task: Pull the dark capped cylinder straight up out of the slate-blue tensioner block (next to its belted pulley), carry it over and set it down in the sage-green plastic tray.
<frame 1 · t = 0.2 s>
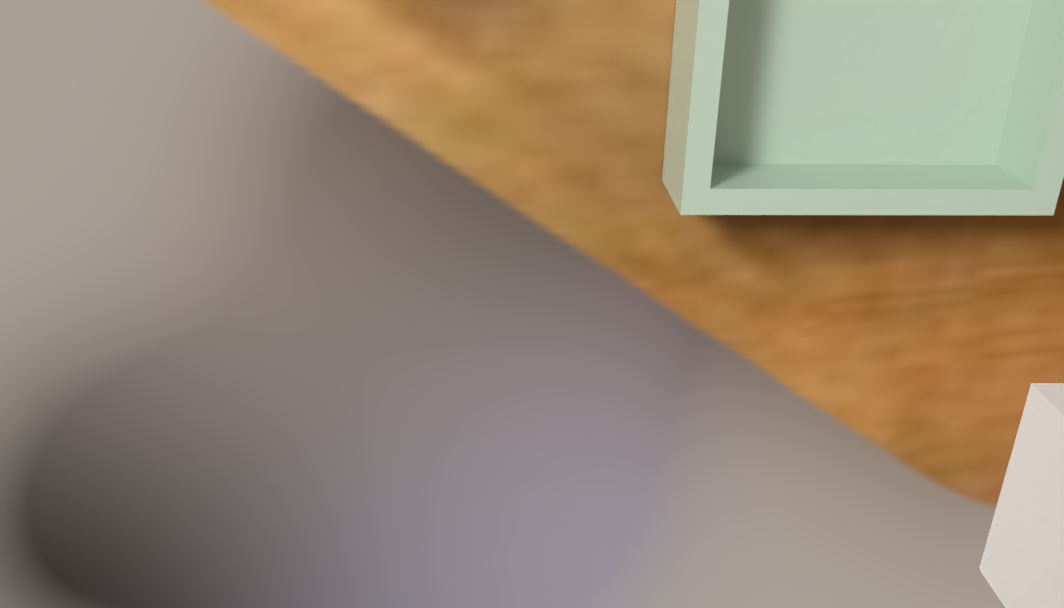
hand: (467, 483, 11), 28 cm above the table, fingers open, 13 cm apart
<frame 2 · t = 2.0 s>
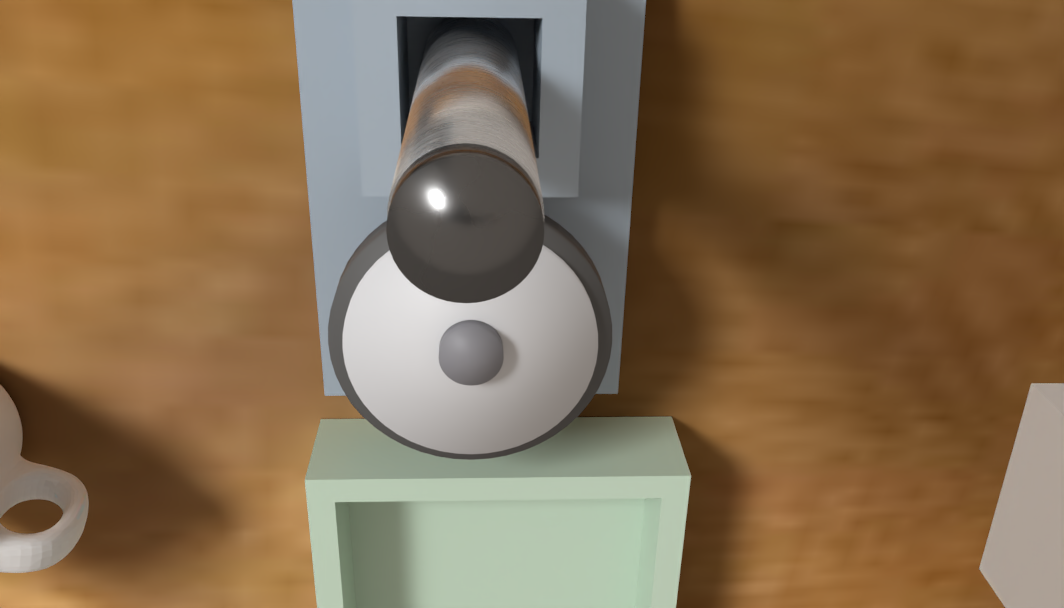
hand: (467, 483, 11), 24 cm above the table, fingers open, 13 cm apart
dark capped cylinder: (471, 59, 31), point 1 cm above the table, touching tensioner block
tray: (496, 573, 42), on the table
tensioner block: (471, 178, 35), on the table
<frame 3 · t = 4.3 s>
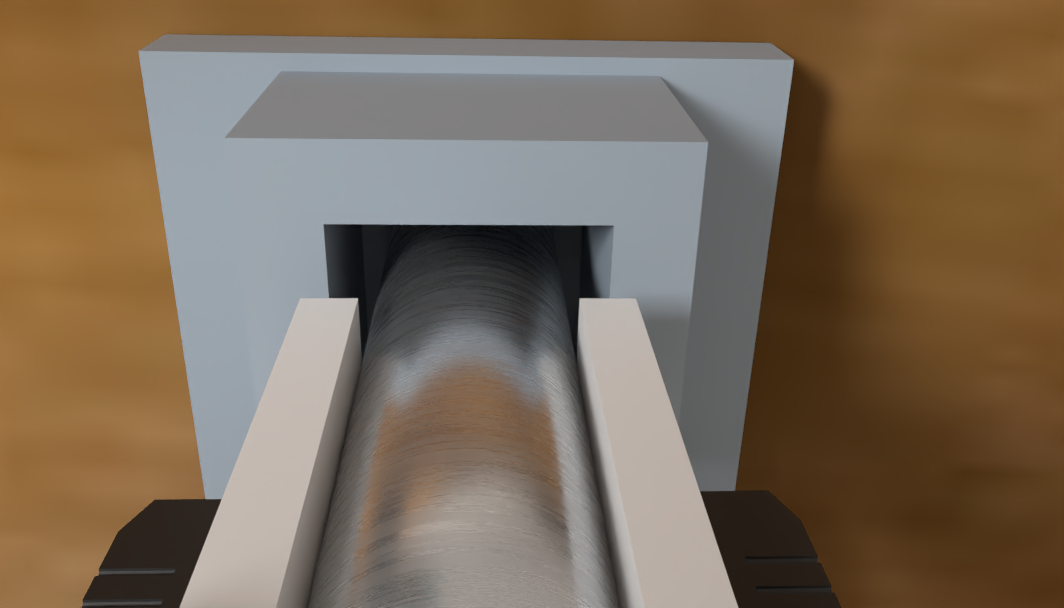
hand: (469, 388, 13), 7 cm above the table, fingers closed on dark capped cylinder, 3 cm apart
dark capped cylinder: (472, 248, 18), point 1 cm above the table, touching gripper, tensioner block
tensioner block: (474, 413, 21), on the table
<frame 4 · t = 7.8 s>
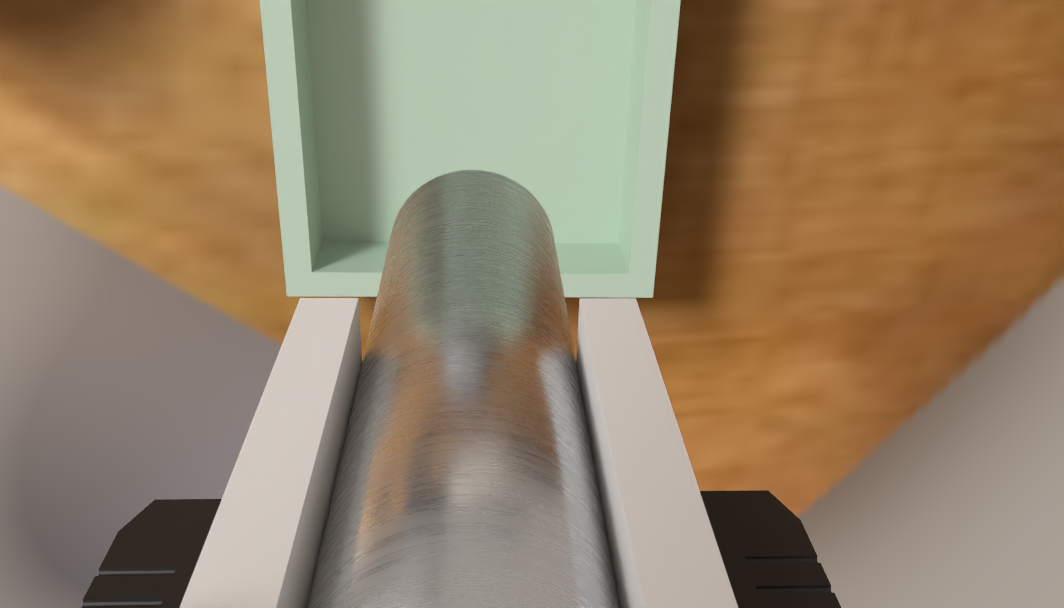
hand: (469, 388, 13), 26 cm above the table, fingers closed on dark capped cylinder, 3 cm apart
dark capped cylinder: (472, 248, 18), point 21 cm above the table, touching gripper
tray: (472, 63, 37), on the table
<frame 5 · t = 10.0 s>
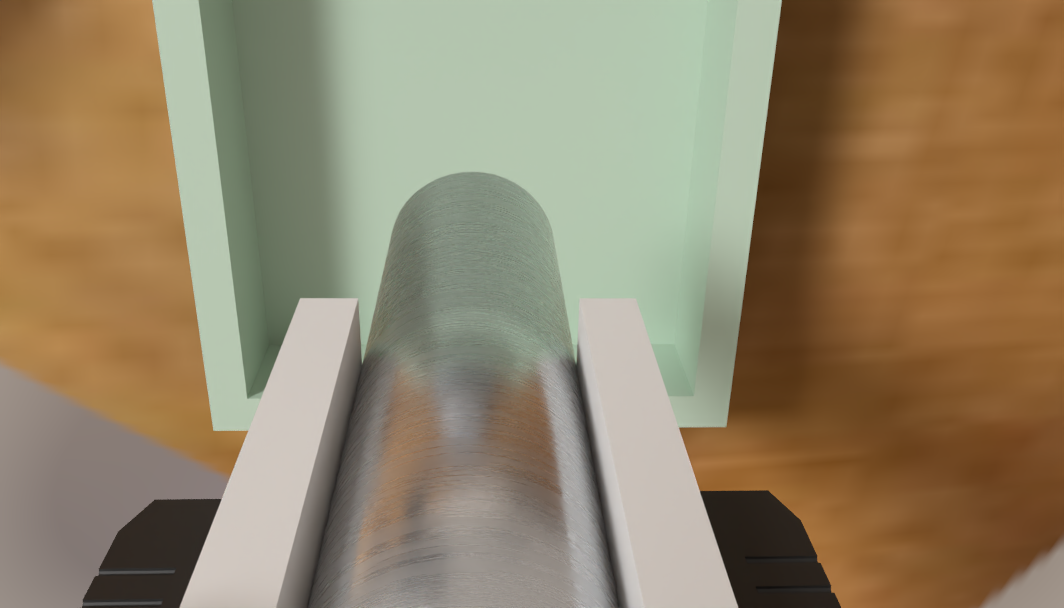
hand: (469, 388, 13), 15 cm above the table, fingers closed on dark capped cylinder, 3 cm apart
dark capped cylinder: (472, 250, 18), point 10 cm above the table, touching gripper
tray: (473, 102, 27), on the table
when the fingers open (7 cm above the table, at t = 11.7 s): dark capped cylinder stays where it is, resting on tray.
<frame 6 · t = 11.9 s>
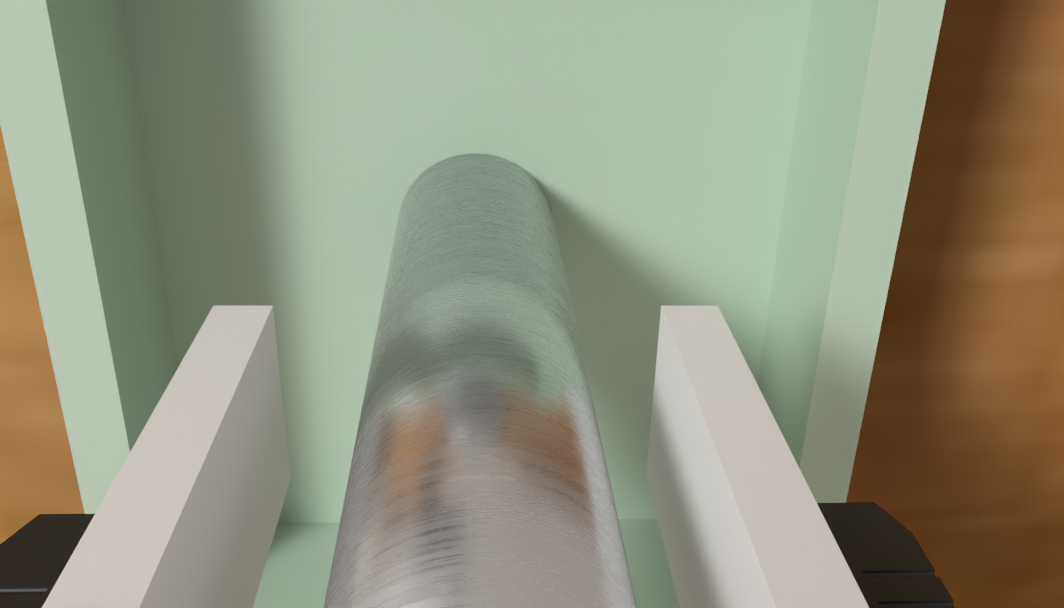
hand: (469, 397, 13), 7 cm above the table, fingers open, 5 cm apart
dark capped cylinder: (476, 228, 19), point 1 cm above the table, touching tray
tray: (473, 210, 20), on the table
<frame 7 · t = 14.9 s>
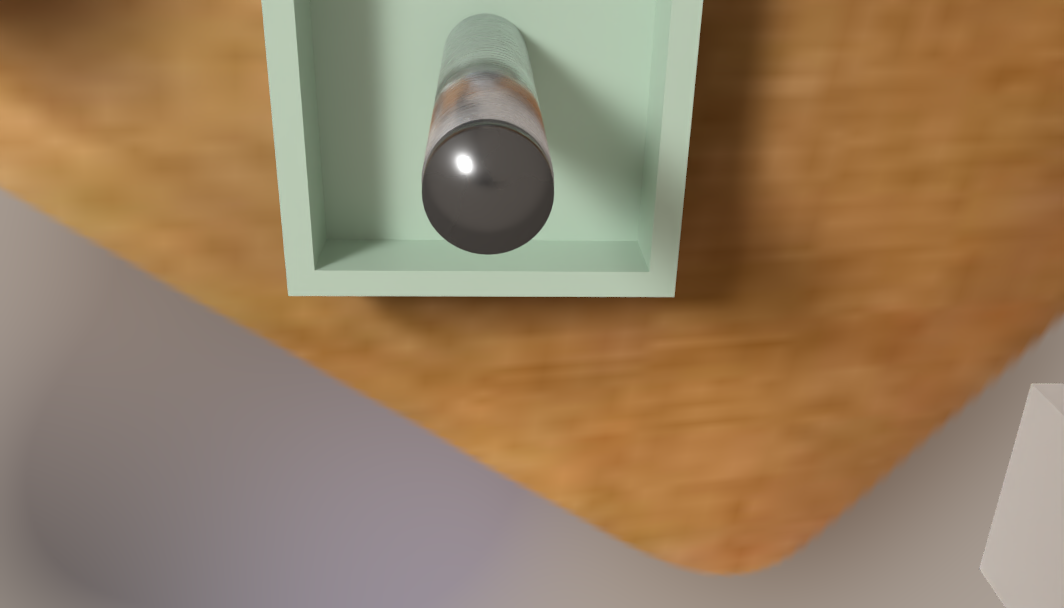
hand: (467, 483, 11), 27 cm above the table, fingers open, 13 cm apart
dark capped cylinder: (485, 56, 35), point 1 cm above the table, touching tray
tray: (484, 51, 36), on the table
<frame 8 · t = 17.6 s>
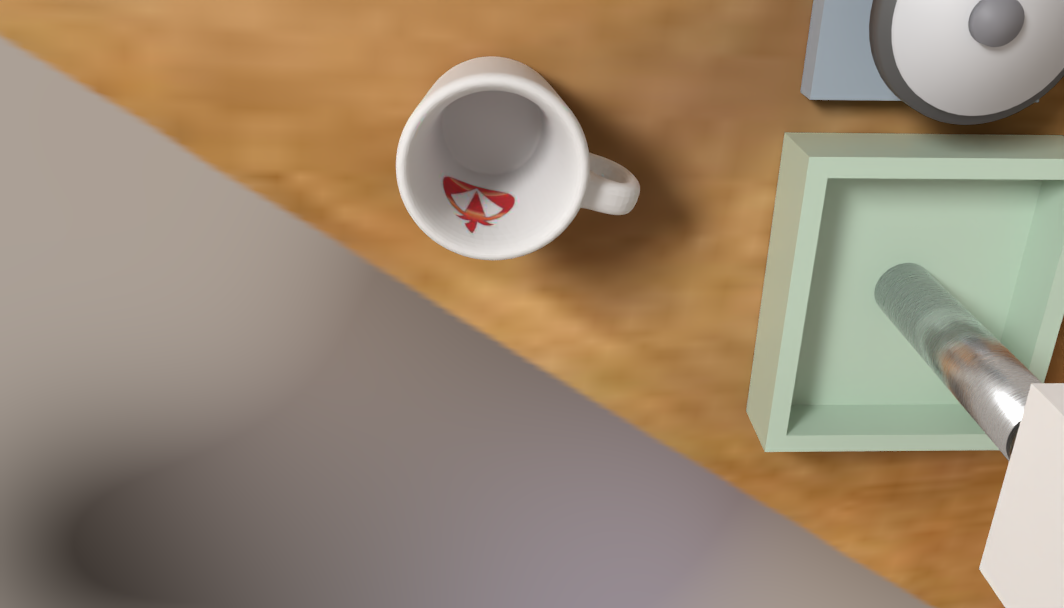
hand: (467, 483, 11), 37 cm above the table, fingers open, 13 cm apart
dark capped cylinder: (903, 289, 51), point 1 cm above the table, touching tray
cup: (519, 128, 47), on the table
tray: (894, 281, 52), on the table
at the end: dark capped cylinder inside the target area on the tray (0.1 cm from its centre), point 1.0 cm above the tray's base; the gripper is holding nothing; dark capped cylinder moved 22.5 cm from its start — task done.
